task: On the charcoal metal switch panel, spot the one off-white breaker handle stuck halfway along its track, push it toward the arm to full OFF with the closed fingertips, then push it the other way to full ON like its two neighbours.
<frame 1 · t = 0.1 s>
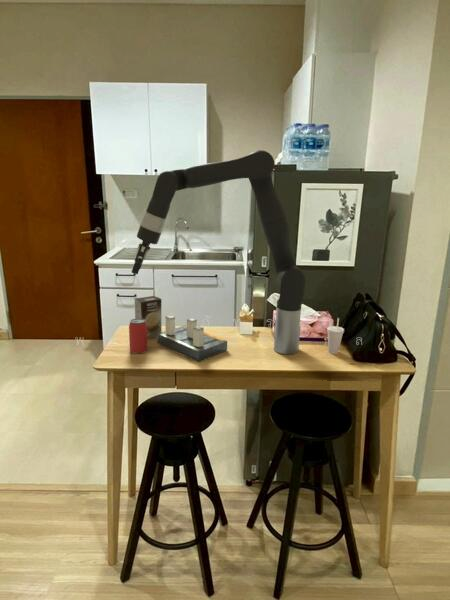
hand: (135, 270, 143), 31 cm above the table, tool tilted 20°, fingers open, 8 cm apart
beer can: (138, 351, 154), on the table
panel: (191, 346, 159), on the table
handle 1: (170, 325, 159), point 8 cm above the table, slide at 4.0 cm
smoothie: (332, 352, 158), on the table
handle 2: (198, 336, 149), point 8 cm above the table, slide at 4.0 cm
coffee box: (148, 336, 169), on the table
handle tripped: (191, 328, 157), point 8 cm above the table, slide at 0.0 cm
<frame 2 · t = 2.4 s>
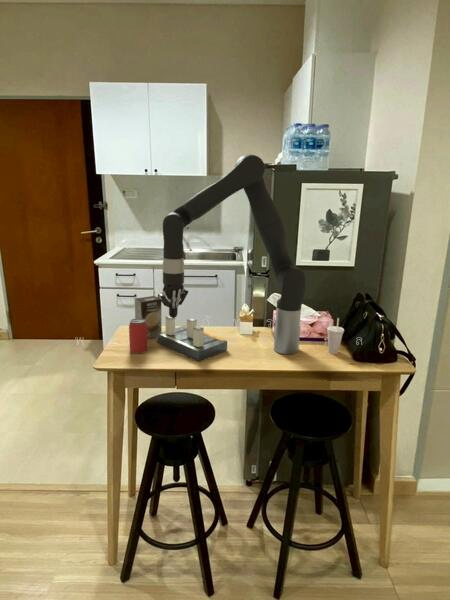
hand: (173, 316, 148), 14 cm above the table, tool pointing down, fingers closed
nothing on the table moved.
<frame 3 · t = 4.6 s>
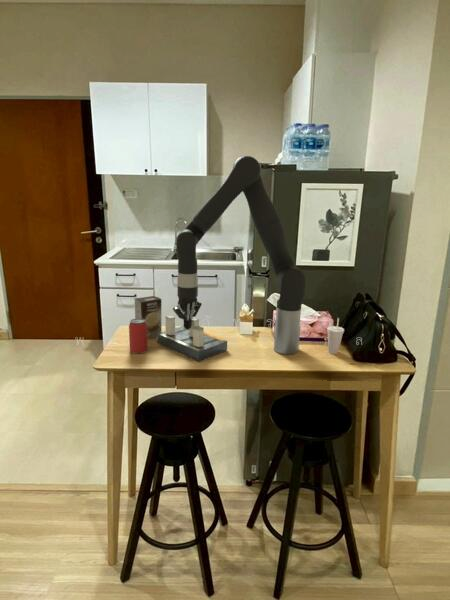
hand: (187, 328, 155), 8 cm above the table, tool pointing down, fingers closed
handle tripped: (193, 327, 158), point 8 cm above the table, slide at -1.2 cm, touching gripper
everything else where it was.
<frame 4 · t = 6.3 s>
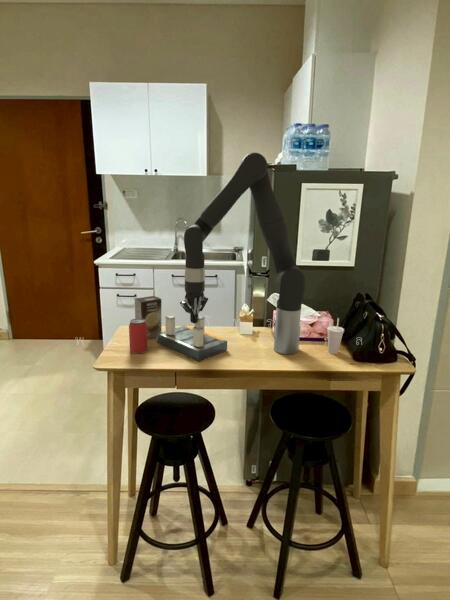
hand: (194, 322, 157), 10 cm above the table, tool pointing down, fingers closed
handle tripped: (199, 325, 160), point 8 cm above the table, slide at -4.1 cm, touching gripper
everything else where it was.
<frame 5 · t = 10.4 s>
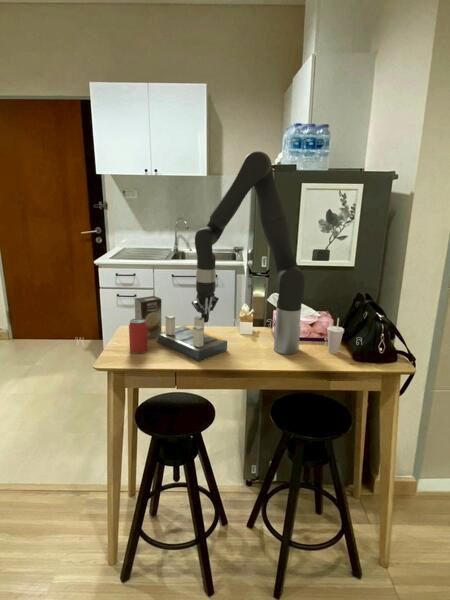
hand: (205, 321, 162), 9 cm above the table, tool pointing down, fingers closed
nothing on the table moved.
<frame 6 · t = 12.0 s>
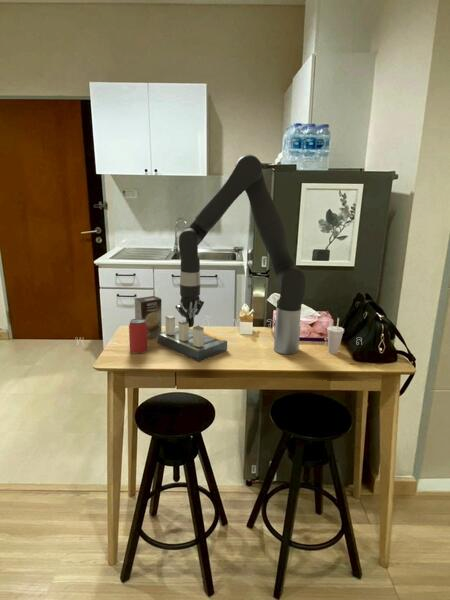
hand: (190, 326, 156), 9 cm above the table, tool pointing down, fingers closed
handle tripped: (183, 330, 154), point 8 cm above the table, slide at 4.1 cm, touching gripper
everything else where it was.
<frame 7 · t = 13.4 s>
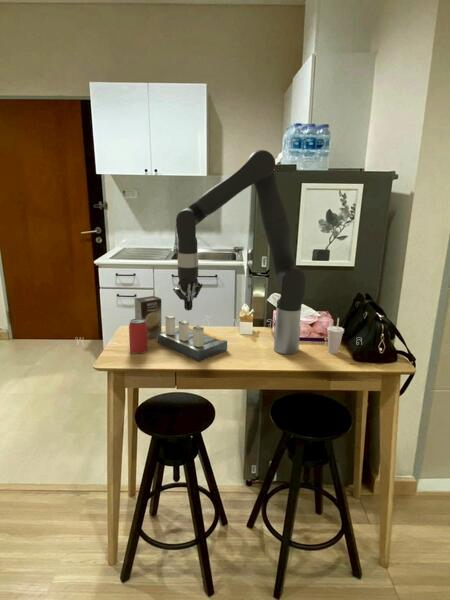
hand: (188, 309, 153), 16 cm above the table, tool pointing down, fingers closed
handle tripped: (183, 330, 154), point 8 cm above the table, slide at 4.0 cm
everything else where it was.
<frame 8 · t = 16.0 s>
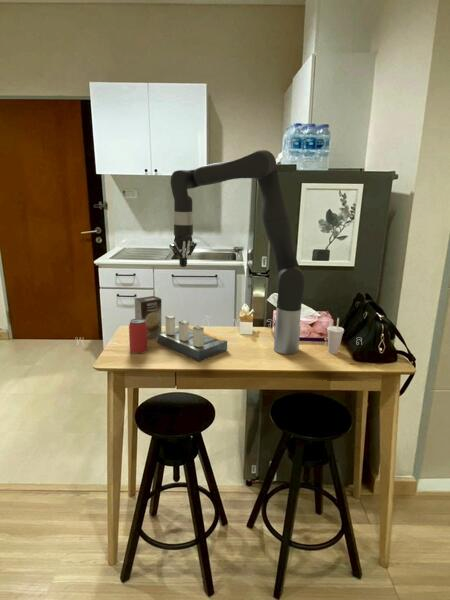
hand: (183, 266, 164), 29 cm above the table, tool pointing down, fingers closed
nothing on the table moved.
at the end: handle tripped slide at 4.0 cm; handle 1 slide at 4.0 cm; handle 2 slide at 4.0 cm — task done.
